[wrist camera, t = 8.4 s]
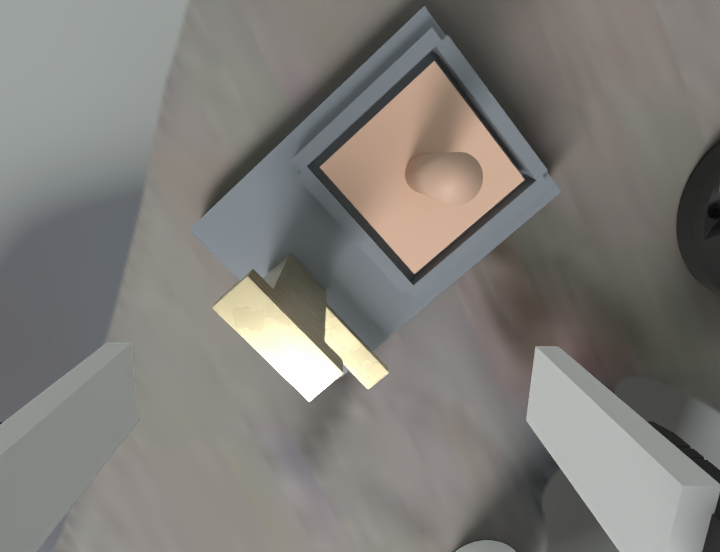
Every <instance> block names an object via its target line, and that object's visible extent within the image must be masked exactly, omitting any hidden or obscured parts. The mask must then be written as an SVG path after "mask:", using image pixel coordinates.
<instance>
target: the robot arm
mask: <svg viewBox="0 0 720 552" xmlns="http://www.w3.org/2000/svg"><path fill="white" fill-rule="evenodd" d="M677 237H678V244H679V248H680V252H681V255H682V258H683V260H684V262H685V264H686V266H687V268H688V269H689V271H690V272H691V273H692V275H693V276H694V277H695V278H696V279H697V280H698V281H699V282H700V283H701V284H703V285H704V286H705V287H707V288H708V289H710V290H712V291H714V292H716V293H719V294H720V142H719V143H718V144H717V145H715V146H714V147H713V148H712V149H711V150H710V152H709V153H708V154H707V155H706V156H705V157H704V158H703V160H702V161H701V162H700V164H699V165H698V166H697V168H696V169H695V171H694V173H693V174H692V176H691V178H690V180H689V182H688V184H687V186H686V188H685V191H684V194H683V196H682V200H681V203H680V207H679V212H678V220H677ZM139 420H140V418H139V408H138V399H137V389H136V380H135V370H134V361H133V351H132V343H106V344H104V345H103V346H102V347H101V348H99V349H98V350H97V351H96V352H94V353H93V354H92V355H90V356H89V357H88V358H86V359H85V360H84V361H82V362H81V363H80V364H78V365H77V366H76V367H75V368H73V369H72V370H71V371H69V372H68V373H67V374H66V375H64V376H63V377H62V378H60V379H59V380H58V381H56V382H55V383H54V384H53V385H51V386H50V387H49V388H47V389H46V390H45V391H43V392H42V393H41V394H39V395H38V396H37V397H36V398H34V399H33V400H32V401H30V402H29V403H28V404H27V405H25V406H24V407H23V408H21V409H20V410H19V411H17V412H16V413H15V414H14V415H12V416H11V417H10V418H8V419H7V420H6V421H4V422H1V423H0V552H37V550H38V549H39V548H40V546H41V545H42V544H43V542H44V541H45V540H46V539H47V538H48V536H49V535H50V533H51V532H52V531H53V530H54V529H55V527H56V526H57V525H58V523H59V522H60V521H61V520H62V518H63V517H64V516H65V515H66V513H67V512H68V511H69V509H70V508H71V507H72V506H73V504H74V503H75V502H76V501H77V499H78V498H79V497H80V495H81V494H82V493H83V492H84V490H85V489H86V488H87V486H88V485H89V484H90V483H91V481H92V480H93V479H94V478H95V476H96V475H97V474H98V472H99V471H100V470H101V469H102V467H103V466H104V465H105V463H106V462H107V461H108V460H109V458H110V457H111V456H112V455H113V453H114V452H115V451H116V449H117V448H118V447H119V446H120V444H121V443H122V442H123V441H124V439H125V438H126V437H127V435H128V434H129V433H130V432H131V430H132V429H133V428H134V426H135V425H136V424H137V423H138V421H139ZM526 421H527V422H528V424H529V425H530V427H531V428H532V429H533V431H534V432H535V434H536V435H537V436H538V438H539V439H540V441H541V442H542V443H543V445H544V446H545V448H546V449H547V450H548V452H549V453H550V455H551V456H552V457H553V459H554V460H555V462H556V463H557V464H558V466H559V467H560V469H561V470H562V471H563V473H564V474H565V475H566V477H567V478H568V480H569V481H570V482H571V484H572V485H573V487H574V488H575V490H576V491H577V492H578V494H579V495H580V497H581V498H582V499H583V501H584V502H585V504H586V505H587V506H588V508H589V509H590V511H591V512H592V513H593V515H594V516H595V518H596V519H597V520H598V522H599V523H600V525H601V526H602V527H603V529H604V530H605V532H606V533H607V534H608V536H609V537H610V539H611V540H612V541H613V543H614V544H615V546H616V547H617V549H618V550H619V551H620V552H720V470H719V469H717V468H716V467H715V466H714V465H713V464H711V463H710V462H709V461H708V460H704V457H703V456H701V455H700V454H699V453H698V452H697V451H695V450H694V449H691V448H690V446H689V445H688V444H687V443H686V442H684V441H683V440H682V439H681V438H680V437H678V436H677V435H676V434H675V433H673V432H671V431H669V430H667V429H665V428H664V427H662V426H660V425H658V424H656V423H654V422H646V421H645V420H644V419H643V418H642V417H640V416H639V415H638V414H637V413H636V412H635V411H633V410H632V409H631V408H630V407H629V406H628V405H626V404H625V403H624V402H623V401H622V400H621V399H619V398H618V397H617V396H616V395H615V394H614V393H612V392H611V391H610V390H609V389H608V388H606V387H605V386H604V385H603V384H602V383H601V382H599V381H598V380H597V379H596V378H595V377H594V376H592V375H591V374H590V373H589V372H588V371H587V370H585V369H584V368H583V367H582V366H581V365H579V364H578V363H577V362H576V361H575V360H574V359H572V358H571V357H570V356H569V355H568V354H567V353H565V352H564V351H563V350H562V349H561V348H560V347H558V346H536V348H535V355H534V363H533V371H532V378H531V386H530V394H529V401H528V409H527V417H526Z"/></svg>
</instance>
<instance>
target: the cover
mask: <svg viewBox="0 0 720 552" xmlns="http://www.w3.org/2000/svg"><path fill="white" fill-rule="evenodd" d="M320 168H321V169H322V170H323V172H324V173H325V174H326V175H327V176H328V177H329V178H330V180H331V181H332V182H333V183H334V184H335V185H336V186H337V187H338V189H339V190H340V191H341V192H342V193H343V194H344V195H345V196H346V198H347V199H348V200H349V201H350V202H351V203H352V204H353V205H354V207H355V208H356V209H357V210H358V211H359V212H360V213H361V214H362V216H363V217H364V218H365V219H366V220H367V221H368V222H369V224H370V225H371V226H372V227H373V228H374V229H375V230H376V231H377V233H378V234H379V235H380V236H381V237H382V238H383V239H384V240H385V242H386V243H387V244H388V245H389V246H390V247H391V248H392V249H393V251H394V252H395V253H396V254H397V255H398V256H399V257H400V258H401V260H402V261H403V262H404V263H405V264H406V265H407V266H408V267H409V269H410V270H411V271H412V272H413V273H414V274H415V273H416V272H418V271H419V270H420V269H421V268H422V267H423V266H425V265H426V264H427V263H428V262H429V261H430V260H432V259H433V258H434V257H435V256H436V255H437V254H439V253H440V252H441V251H442V250H443V249H444V248H446V247H447V246H448V245H449V244H450V243H451V242H453V241H454V240H455V239H456V238H457V237H458V236H460V235H461V234H462V233H463V232H464V231H465V230H467V229H468V228H469V227H470V226H471V225H472V224H474V223H475V222H476V221H477V220H478V219H479V218H481V217H482V216H483V215H484V214H485V213H486V212H488V211H489V210H490V209H491V208H492V207H493V206H495V205H496V204H497V203H498V202H499V201H500V200H502V199H503V198H504V197H505V196H506V195H508V194H509V193H510V192H511V191H512V190H513V189H515V188H516V187H517V186H518V185H519V184H520V183H522V182H523V181H524V180H525V179H524V178H523V177H522V175H521V174H520V173H519V171H518V170H517V169H516V168H515V166H514V165H513V164H512V162H511V161H510V160H509V158H508V157H507V156H506V154H505V153H504V152H503V150H502V149H501V148H500V146H499V145H498V144H497V142H496V141H495V140H494V139H493V137H492V136H491V135H490V133H489V132H488V131H487V129H486V128H485V127H484V125H483V124H482V123H481V121H480V120H479V119H478V117H477V116H476V115H475V114H474V112H473V111H472V110H471V108H470V107H469V106H468V104H467V103H466V102H465V100H464V99H463V98H462V96H461V95H460V94H459V92H458V91H457V90H456V88H455V87H454V86H453V85H452V83H451V82H450V81H449V79H448V78H447V77H446V75H445V74H444V73H443V71H442V70H441V69H440V67H439V66H438V65H437V63H436V62H435V61H434V62H432V63H431V64H430V65H429V66H428V67H427V68H426V69H425V70H424V71H423V72H422V73H421V74H420V75H418V76H417V77H416V78H415V79H414V80H413V81H412V82H411V83H410V84H409V85H408V86H407V87H405V88H404V89H403V90H402V91H401V92H400V93H399V94H398V95H397V96H396V97H395V98H394V99H393V100H391V101H390V102H389V103H388V104H387V105H386V106H385V107H384V108H383V109H382V110H381V111H380V112H379V113H377V114H376V115H375V116H374V117H373V118H372V119H371V120H370V121H369V122H368V123H367V124H366V125H365V126H363V127H362V128H361V129H360V130H359V131H358V132H357V133H356V134H355V135H354V136H353V137H352V138H351V139H349V140H348V141H347V142H346V143H345V144H344V145H343V146H342V147H341V148H340V149H339V150H338V151H336V152H335V153H334V154H333V155H332V156H331V157H330V158H329V159H328V160H327V161H326V162H325V163H324V164H322V165H321V166H320Z"/></svg>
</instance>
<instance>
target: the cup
mask: <svg viewBox="0 0 720 552" xmlns="http://www.w3.org/2000/svg"><path fill="white" fill-rule="evenodd" d="M455 552H516V551H515V550H514V549H513V548H511V547H510V546H508V545H507V544H504V543H502V542H499V541H493V540H481V541H476V542H472V543H469V544H467V545H465V546H463V547H461V548H459V549H458V550H457V551H455Z"/></svg>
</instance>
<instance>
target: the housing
mask: <svg viewBox="0 0 720 552" xmlns="http://www.w3.org/2000/svg"><path fill="white" fill-rule="evenodd" d="M434 61H435V62H436V63H437V65H438V66H439V67H440V69H441V70H442V71H443V73H444V74H445V75H446V77H447V78H448V79H449V81H450V82H451V83H452V85H453V86H454V87H455V88H456V90H457V91H458V92H459V94H460V95H461V96H462V98H463V99H464V100H465V102H466V103H467V104H468V106H469V107H470V108H471V110H472V111H473V112H474V114H475V115H476V116H477V117H478V119H479V120H480V121H481V123H482V124H483V125H484V127H485V128H486V129H487V131H488V132H489V133H490V135H491V136H492V137H493V139H494V140H495V141H496V142H497V144H498V145H499V146H500V148H501V149H502V150H503V152H504V153H505V154H506V156H507V157H508V158H509V160H510V161H511V162H512V164H513V165H514V166H515V168H516V169H517V170H518V171H519V173H520V174H521V175H522V177H523V178H524V179H525V180H524V181H523V182H522V183H520V184H519V185H518V186H517V187H516V188H515V189H513V190H512V191H511V192H510V193H509V194H508V195H506V196H505V197H504V198H503V199H502V200H500V201H499V202H498V203H497V204H496V205H495V206H493V207H492V208H491V209H490V210H489V211H488V212H486V213H485V214H484V215H483V216H482V217H481V218H479V219H478V220H477V221H476V222H475V223H474V224H472V225H471V226H470V227H469V228H468V229H467V230H465V231H464V232H463V233H462V234H461V235H460V236H458V237H457V238H456V239H455V240H454V241H453V242H451V243H450V244H449V245H448V246H447V247H446V248H444V249H443V250H442V251H441V252H440V253H439V254H437V255H436V256H435V257H434V258H433V259H432V260H430V261H429V262H428V263H427V264H426V265H425V266H423V267H422V268H421V269H420V270H419V271H418V272H416V273H415V274H414V273H413V272H412V271H411V270H410V269H409V267H408V266H407V265H406V264H405V263H404V262H403V261H402V260H401V258H400V257H399V256H398V255H397V254H396V253H395V252H394V251H393V249H392V248H391V247H390V246H389V245H388V244H387V243H386V242H385V240H384V239H383V238H382V237H381V236H380V235H379V234H378V233H377V231H376V230H375V229H374V228H373V227H372V226H371V225H370V224H369V222H368V221H367V220H366V219H365V218H364V217H363V216H362V214H361V213H360V212H359V211H358V210H357V209H356V208H355V207H354V205H353V204H352V203H351V202H350V201H349V200H348V199H347V198H346V196H345V195H344V194H343V193H342V192H341V191H340V190H339V189H338V187H337V186H336V185H335V184H334V183H333V182H332V181H331V180H330V178H329V177H328V176H327V175H326V174H325V173H324V172H323V170H322V169H321V168H320V166H321V165H322V164H324V163H325V162H326V161H327V160H328V159H329V158H330V157H331V156H332V155H333V154H334V153H335V152H336V151H338V150H339V149H340V148H341V147H342V146H343V145H344V144H345V143H346V142H347V141H348V140H349V139H351V138H352V137H353V136H354V135H355V134H356V133H357V132H358V131H359V130H360V129H361V128H362V127H363V126H365V125H366V124H367V123H368V122H369V121H370V120H371V119H372V118H373V117H374V116H375V115H376V114H377V113H379V112H380V111H381V110H382V109H383V108H384V107H385V106H386V105H387V104H388V103H389V102H390V101H391V100H393V99H394V98H395V97H396V96H397V95H398V94H399V93H400V92H401V91H402V90H403V89H404V88H405V87H407V86H408V85H409V84H410V83H411V82H412V81H413V80H414V79H415V78H416V77H417V76H418V75H420V74H421V73H422V72H423V71H424V70H425V69H426V68H427V67H428V66H429V65H430V64H431V63H432V62H434ZM547 171H548V170H547V168H546V167H545V166H544V164H543V163H542V162H541V160H540V159H539V158H538V156H537V155H536V153H535V152H534V151H533V149H532V148H531V147H530V145H529V144H528V143H527V141H526V140H525V139H524V137H523V136H522V135H521V133H520V132H519V130H518V129H517V128H516V126H515V125H514V124H513V122H512V121H511V120H510V118H509V117H508V116H507V114H506V113H505V111H504V110H503V109H502V107H501V106H500V105H499V103H498V102H497V101H496V99H495V98H494V97H493V95H492V94H491V93H490V91H489V90H488V88H487V87H486V86H485V84H484V83H483V82H482V80H481V79H480V78H479V76H478V75H477V74H476V72H475V71H474V70H473V68H472V67H471V65H470V64H469V63H468V61H467V60H466V59H465V57H464V56H463V55H462V53H461V52H460V51H459V49H458V48H457V47H456V45H455V44H454V42H453V41H452V40H451V38H450V37H449V36H448V35H447V36H446V35H445V33H444V32H443V31H442V29H441V28H440V27H439V25H438V24H437V22H436V21H435V20H434V18H433V17H432V16H431V14H430V13H429V12H428V10H427V9H426V8H425V6H424V7H423V8H421V9H420V10H419V11H418V12H417V13H416V14H415V15H414V16H413V17H412V18H411V19H410V20H409V21H408V22H407V23H406V24H405V25H404V26H403V27H401V28H400V29H399V30H398V31H397V32H396V33H395V34H394V35H393V36H392V37H391V38H390V39H389V40H388V41H387V42H386V43H385V44H384V45H383V46H381V47H380V48H379V49H378V50H377V51H376V52H375V53H374V54H373V55H372V56H371V57H370V58H369V59H368V60H367V61H366V62H365V63H364V64H363V65H362V66H360V67H359V68H358V69H357V70H356V71H355V72H354V73H353V74H352V75H351V76H350V77H349V78H348V79H347V80H346V81H345V82H344V83H343V84H342V85H340V86H339V87H338V88H337V89H336V90H335V91H334V92H333V93H332V94H331V95H330V96H329V97H328V98H327V99H326V100H325V101H324V102H323V103H322V104H320V105H319V106H318V107H317V108H316V109H315V110H314V111H313V112H312V113H311V114H310V115H309V116H308V117H307V118H306V119H305V120H304V121H303V122H302V123H301V124H299V125H298V126H297V127H296V128H295V129H294V130H293V131H292V132H291V133H290V134H289V135H288V136H287V137H286V138H285V139H284V140H283V141H282V142H281V143H279V144H278V145H277V146H276V147H275V148H274V149H273V150H272V151H271V152H270V153H269V154H268V155H267V156H266V157H265V158H264V159H263V160H262V161H261V162H259V163H258V164H257V165H256V166H255V167H254V168H253V169H252V170H251V171H250V172H249V173H248V174H247V175H246V176H245V177H244V178H243V179H242V180H241V181H240V182H238V183H237V184H236V185H235V186H234V187H233V188H232V189H231V190H230V191H229V192H228V193H227V194H226V195H225V196H224V197H223V198H222V199H221V200H220V201H218V202H217V203H216V204H215V205H214V206H213V207H212V208H211V209H210V210H209V211H208V212H207V213H206V214H205V215H204V216H203V217H202V218H201V219H200V220H198V221H197V222H196V223H195V224H194V225H193V226H192V227H191V228H190V229H189V231H190V232H191V233H192V234H193V235H194V236H195V237H196V238H197V239H198V240H199V241H200V242H201V243H202V244H203V245H204V246H205V247H206V248H207V249H208V250H209V251H210V252H211V253H212V254H213V255H214V256H215V257H216V258H217V259H218V260H219V261H220V262H221V263H222V264H223V265H224V266H225V267H226V268H227V269H228V270H229V271H230V272H231V273H232V274H233V275H234V276H235V277H236V278H237V279H238V280H239V281H240V280H241V279H242V278H243V277H244V276H245V275H246V274H247V273H249V272H250V271H251V270H252V269H254V270H255V271H256V272H257V273H258V274H259V275H260V276H261V277H262V278H264V277H265V275H266V274H267V273H268V272H269V271H270V270H271V269H272V268H273V267H275V266H276V265H277V264H278V263H279V262H280V261H281V260H282V259H284V258H285V257H286V256H287V255H288V254H289V253H290V254H291V255H292V256H293V257H294V258H295V259H296V260H297V261H298V262H299V263H300V264H301V265H302V266H303V267H304V269H305V270H306V271H307V272H308V273H309V274H310V275H311V276H312V277H313V278H314V279H315V280H316V281H317V282H318V283H319V284H320V286H321V287H322V288H323V289H324V290H325V291H326V292H327V298H326V303H327V304H328V305H329V306H330V307H331V308H332V309H333V310H334V311H335V312H336V313H337V314H338V315H339V316H340V317H341V318H342V319H343V320H344V322H345V323H346V324H347V325H348V326H349V327H350V328H351V329H352V330H353V331H354V332H355V333H356V334H357V335H358V336H359V337H360V338H361V339H362V340H363V342H364V343H365V344H366V345H367V346H368V347H369V348H370V349H371V350H372V351H373V350H374V349H375V348H376V347H378V346H379V345H380V344H381V343H382V342H383V341H385V340H386V339H387V338H388V337H389V336H391V335H392V334H393V333H394V332H395V331H397V330H398V329H399V328H400V327H401V326H402V325H404V324H405V323H406V322H407V321H408V320H410V319H411V318H412V317H413V316H414V315H416V314H417V313H418V312H419V311H420V310H421V309H423V308H424V307H425V306H426V305H427V304H429V303H430V302H431V301H432V300H433V299H435V298H436V297H437V296H438V295H439V294H440V293H442V292H443V291H444V290H445V289H446V288H448V287H449V286H450V285H451V284H452V283H454V282H455V281H456V280H457V279H458V278H459V277H461V276H462V275H463V274H464V273H465V272H467V271H468V270H469V269H470V268H471V267H473V266H474V265H475V264H476V263H477V262H478V261H480V260H481V259H482V258H483V257H484V256H486V255H487V254H488V253H489V252H490V251H492V250H493V249H494V248H495V247H496V246H497V245H499V244H500V243H501V242H502V241H503V240H505V239H506V238H507V237H508V236H509V235H511V234H512V233H513V232H514V231H515V230H517V229H518V228H519V227H520V226H521V225H522V224H524V223H525V222H526V221H527V220H528V219H530V218H531V217H532V216H533V215H534V214H536V213H537V212H538V211H539V210H540V209H541V208H543V207H544V206H545V205H546V204H547V203H549V202H550V201H551V200H552V199H553V198H555V197H556V196H557V195H558V194H559V193H560V192H562V191H561V190H560V189H559V187H558V186H557V185H556V183H555V182H554V181H553V179H552V178H551V176H550V175H549V174H548V172H547ZM348 371H349V370H348V369H347V368H346V367H345V365H344V364H343V374H342V375H341V376H340V377H338V378H339V379H340V378H341V377H342V376H343V375H344V374H345V373H347V372H348Z"/></svg>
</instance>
